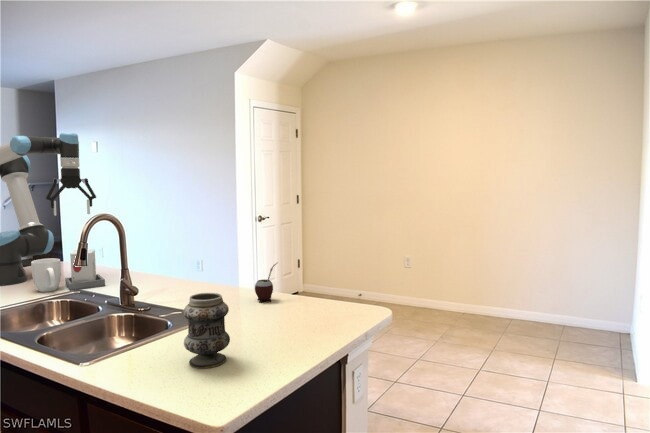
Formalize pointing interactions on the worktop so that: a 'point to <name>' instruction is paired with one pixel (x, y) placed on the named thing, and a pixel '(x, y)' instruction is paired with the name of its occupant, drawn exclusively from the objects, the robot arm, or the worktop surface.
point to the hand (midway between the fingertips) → (72, 214)
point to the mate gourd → (264, 289)
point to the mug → (46, 274)
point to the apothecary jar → (206, 329)
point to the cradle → (85, 283)
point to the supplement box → (83, 268)
